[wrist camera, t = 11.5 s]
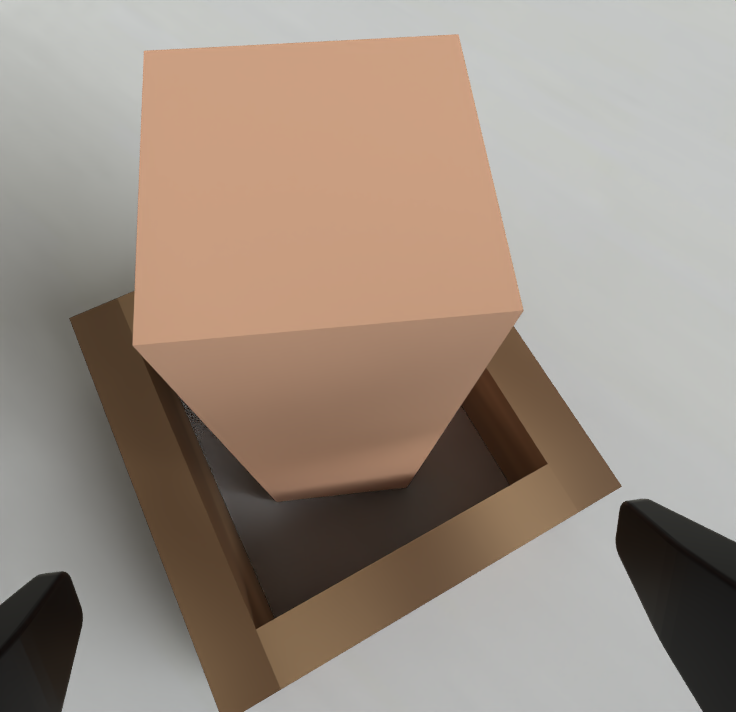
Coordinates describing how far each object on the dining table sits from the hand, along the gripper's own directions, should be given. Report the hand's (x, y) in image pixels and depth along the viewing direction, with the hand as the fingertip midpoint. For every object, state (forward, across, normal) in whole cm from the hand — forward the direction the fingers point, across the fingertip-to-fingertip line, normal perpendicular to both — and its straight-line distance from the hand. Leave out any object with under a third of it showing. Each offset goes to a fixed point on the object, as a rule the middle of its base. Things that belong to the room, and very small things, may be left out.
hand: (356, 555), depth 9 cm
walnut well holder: (+10, 0, +4) cm, 11 cm away
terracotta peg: (+10, 0, +4) cm, 11 cm away
